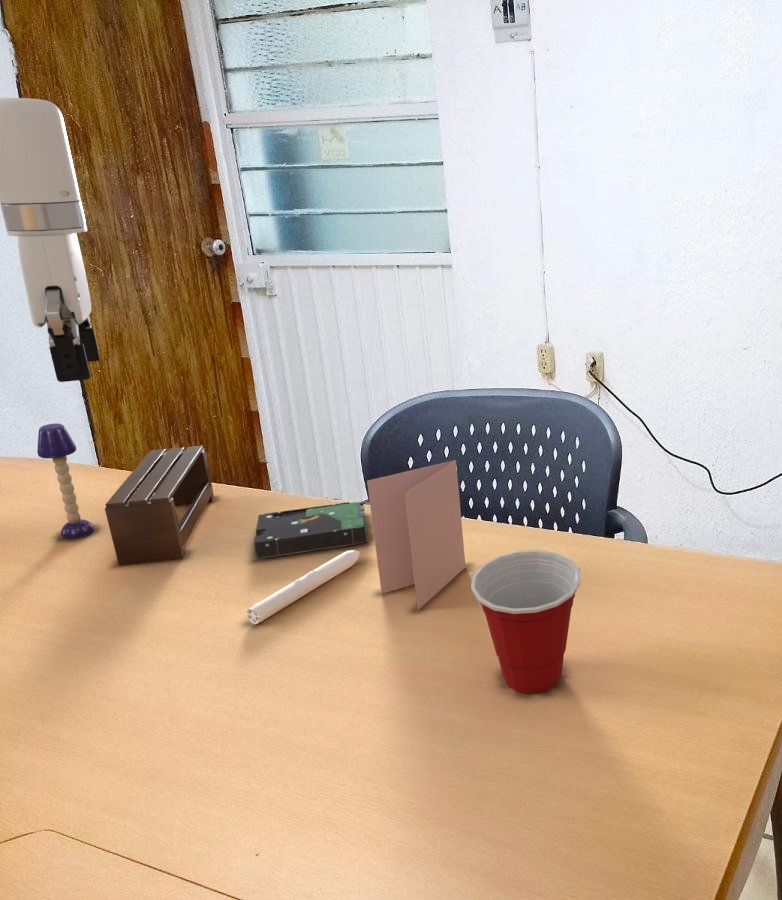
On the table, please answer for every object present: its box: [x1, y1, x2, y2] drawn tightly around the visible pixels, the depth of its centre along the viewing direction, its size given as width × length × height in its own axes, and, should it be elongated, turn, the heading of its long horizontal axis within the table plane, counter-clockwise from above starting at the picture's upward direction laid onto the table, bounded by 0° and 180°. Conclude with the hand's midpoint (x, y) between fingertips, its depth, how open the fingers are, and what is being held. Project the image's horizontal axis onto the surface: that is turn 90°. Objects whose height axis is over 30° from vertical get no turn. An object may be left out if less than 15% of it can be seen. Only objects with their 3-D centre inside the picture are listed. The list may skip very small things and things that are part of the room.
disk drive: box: [253, 501, 369, 559], centre depth 118 cm, size 10×3×15 cm
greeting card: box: [366, 459, 467, 611], centre depth 101 cm, size 11×7×15 cm, turn 124°
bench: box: [104, 445, 215, 566], centre depth 121 cm, size 8×22×9 cm, turn 13°
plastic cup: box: [470, 549, 582, 695], centre depth 83 cm, size 11×11×12 cm
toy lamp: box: [36, 423, 95, 540], centre depth 119 cm, size 5×5×17 cm
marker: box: [245, 549, 361, 625], centre depth 103 cm, size 18×2×2 cm, turn 154°
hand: (80, 370), depth 97 cm, fingers open, 9 cm apart
